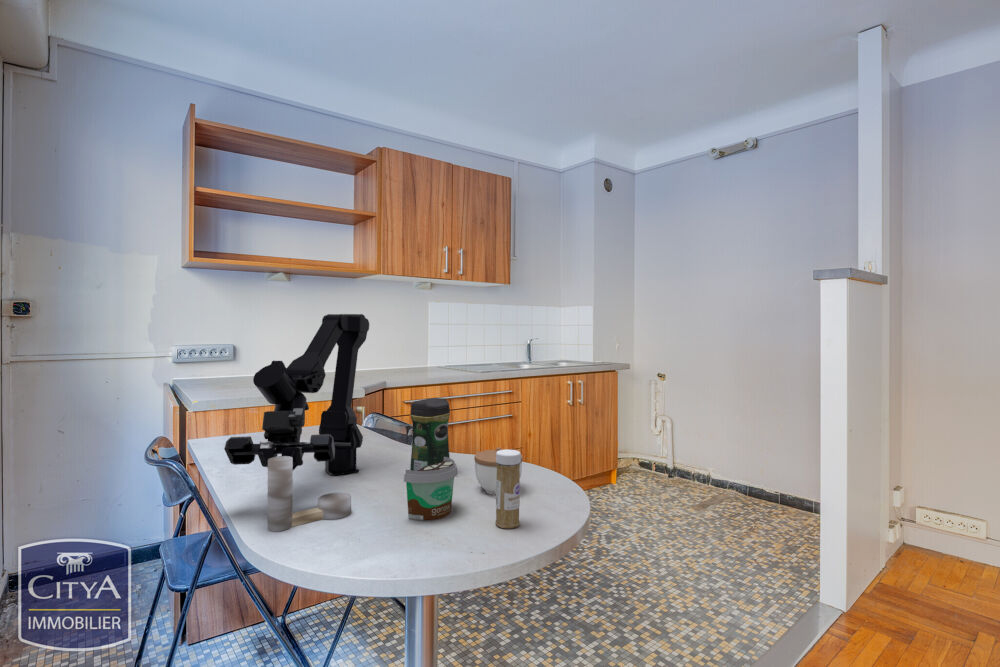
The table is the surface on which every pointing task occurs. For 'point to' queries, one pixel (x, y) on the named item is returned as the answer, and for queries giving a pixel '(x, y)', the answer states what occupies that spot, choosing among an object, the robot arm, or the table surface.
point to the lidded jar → (488, 469)
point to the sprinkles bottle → (508, 488)
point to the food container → (430, 490)
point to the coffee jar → (429, 432)
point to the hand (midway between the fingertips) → (274, 490)
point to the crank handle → (282, 499)
